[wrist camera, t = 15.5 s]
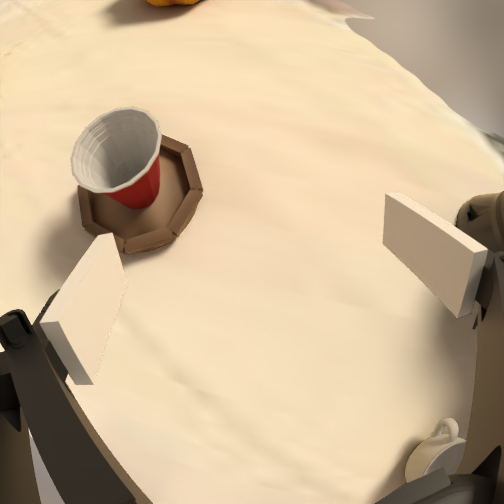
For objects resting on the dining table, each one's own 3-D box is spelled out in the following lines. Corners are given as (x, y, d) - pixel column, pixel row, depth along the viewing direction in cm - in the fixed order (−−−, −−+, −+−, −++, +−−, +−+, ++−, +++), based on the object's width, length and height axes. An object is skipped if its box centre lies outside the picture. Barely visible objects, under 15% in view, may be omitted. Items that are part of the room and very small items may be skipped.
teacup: (441, 480, 35) (468, 495, 27) (388, 493, 35) (413, 513, 27) (458, 406, 39) (490, 413, 31) (406, 413, 38) (437, 425, 30)
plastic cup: (103, 164, 42) (73, 117, 30) (173, 151, 43) (160, 97, 32) (102, 234, 40) (63, 200, 28) (179, 221, 41) (163, 180, 29)
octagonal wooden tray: (184, 129, 46) (181, 115, 42) (214, 230, 42) (213, 221, 39) (81, 164, 43) (72, 152, 40) (96, 268, 40) (85, 262, 36)
